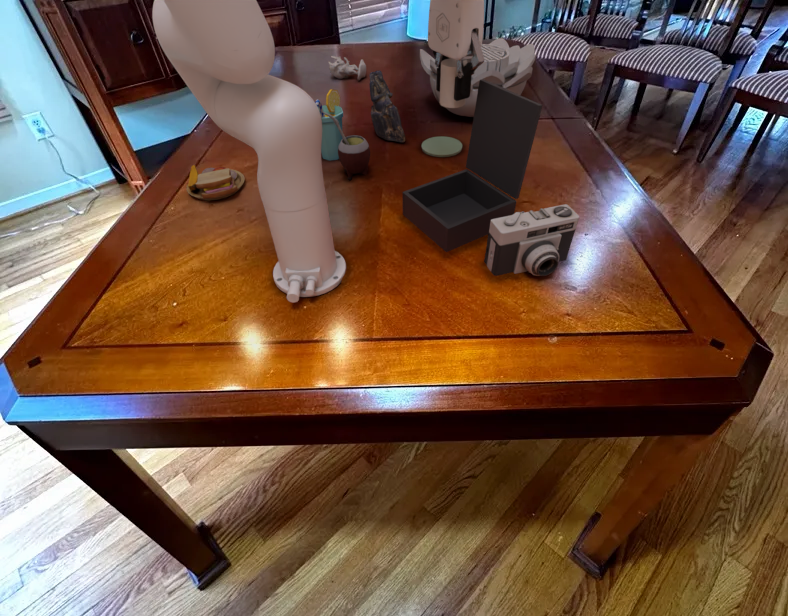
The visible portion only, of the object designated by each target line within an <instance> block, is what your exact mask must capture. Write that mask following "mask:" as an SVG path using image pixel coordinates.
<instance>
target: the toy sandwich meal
mask: <svg viewBox="0 0 788 616" xmlns="http://www.w3.org/2000/svg"><path fill="white" fill-rule="evenodd" d="M188 178H189V179H188V183H187V184H186V187H185V189H186V192H187V193H188V195H190V196H191V197H194V198H195V199H198V200H202V201H217V200H223V199H226V198H228V197H231V196H233V195H234V194H236V193H237V192H239V191H240V190H241V189H242V187H243V185H244V183H245V180H246V179H245V175H244V174H243V173H242V172H241V171H239V170H236V169H232V168H230V167H224V166H219V167H206V168H205V169H203V170H202V171H201V173H199V172H198V170H197V167H196V165H195V164H193V165H191V167H190V171H189V177H188Z"/></svg>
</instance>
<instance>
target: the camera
mask: <svg viewBox="0 0 788 616" xmlns="http://www.w3.org/2000/svg"><path fill="white" fill-rule="evenodd" d="M579 221H580V215H579V214H578V213H577V212H576V211H575V210H574V209H573V208H572V207H570V205H568V204H567V203H565V204H560V205H555V206H550V207H545V208H542V207H541V208H539V210H536V211H534V210H531V209H530V210H529V211H526V212H525V211H515V212H514V214H513V215H510V216H505V217H500V218H495V219H492V220H491V222H490V229H489V233H488V235H487V240H486V247H485V254H484V260H483V263H484V264H485V265H486V267H487V269H488V270H489V271H490V273H491V274H492V275H493V276H496V277H497V276H502V275H506V274H511V273H513V274H515V275H517V274H520V273H526V272H527V273H530V274H532V276H535V277H540V276H541V277H546V276H549V275H551V274H553V272H555V270H556V269H557V268H558V266H559V263H560V262H564V261H566V260H567V258H568V254H569V252H570V248H571V245H572V243H573V239H574V236H575V232H576V230H577V227H578V223H579Z"/></svg>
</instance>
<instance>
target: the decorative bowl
mask: <svg viewBox="0 0 788 616" xmlns="http://www.w3.org/2000/svg"><path fill="white" fill-rule="evenodd" d="M481 49H482V53H483V56H484V63H482V64H481V65H480V66H479V67H478V68H477V69H476V70H475V71H474V74H473V75H472V76H471V89H470V97H469V98H466V100H465V105H463V106H462V107H458V108H447V107H444V108H445V109H446V110H447V111H449V112H450V113H452V114H453V115H457V116H461V117H467V118H468V117H469V118H474V112H475V106H476V100H477V94H478V88H479V81H480V80H481V79H484V80H486V81H488V82H491V83H493V84H495V85H498V86H500V87H502V88H505V89H507V90H509V91H511V92H514V93H516V94H518V95H521V96H522V93H523V92H524V90H525V87H526V85H527V81H528V80H529V79H530V78H532V76H533V75H532V74H533V64H534V63H535V61H536V56H537V54H535V52H536V51H535V50H536V49H535V45H534V43H529V44H526V45H524V46H522V47H520V45H517V44H516V45H513V46H511V47H510V45H509V43H508V42H507V41H506V39H504V38H503V37H499V38H496V39H494V40H493V41H491V42H489V43H488V44H487V43H482V47H481ZM419 60H420V65H421V68H423V70H424V72H425V73H426V74H427V75H428V76H429V84H430V88H431V90H432V93H433V96H434V97H435V100H436V101H437V102H438V103H439V104H440V91H437V90H436V81H437V68H438V67H436V66H435V60H436V59H435V57H433V56H432V55H430V54H429V53H428V52H427V51H426V50H424V49H422V48H420V49H419Z"/></svg>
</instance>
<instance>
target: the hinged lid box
mask: <svg viewBox="0 0 788 616" xmlns="http://www.w3.org/2000/svg"><path fill="white" fill-rule="evenodd" d="M401 195H402V196H401V197H402V215H403V216H404V217H405V218H406V219H407V220H408V221H410V223H412V224H413V225H414V226H415V227H416V228H418V229H419V230H420V231H421V232H423V234H424V235H426V236H427V237H428V238H429V239H430V240H432V242H434V243H435V244H436V245H437V246H439V248H440V249H442V250H443V251H444V252H445V253H448V252H451V251H453V250H455V249H458V248H460V247H463V246H465V245H467V244H469V243H472V242H474V241H477V240H478V239H481V238H483V237H485V236H488V233H489V229H490V222H491V220H492V219H495V218H500V217H505V216H510V215H513V214H515V213H516V206H517V199H514V198H513V197H511V196H510V195H508V194H507V193H505V192H504V191H502V190H501V189H499V188H497V187H496V186H494V185H493V184H491V183H490V182H488V181H487V180H485V179H483V178H482V177H480V176H479V175H477V174H476V173H474V172H473V171H471V170H469V169H468V168H466V169H463V170H460V171H457V172H454V173H452V174H449V175H445V176H443V177H440V178H438V179H437V178H436V179H435V180H432V181H429V182H426V183H424V184H421V185H418V186H416V187H412V188H409V189H407V190H404V191H402V192H401Z"/></svg>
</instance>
